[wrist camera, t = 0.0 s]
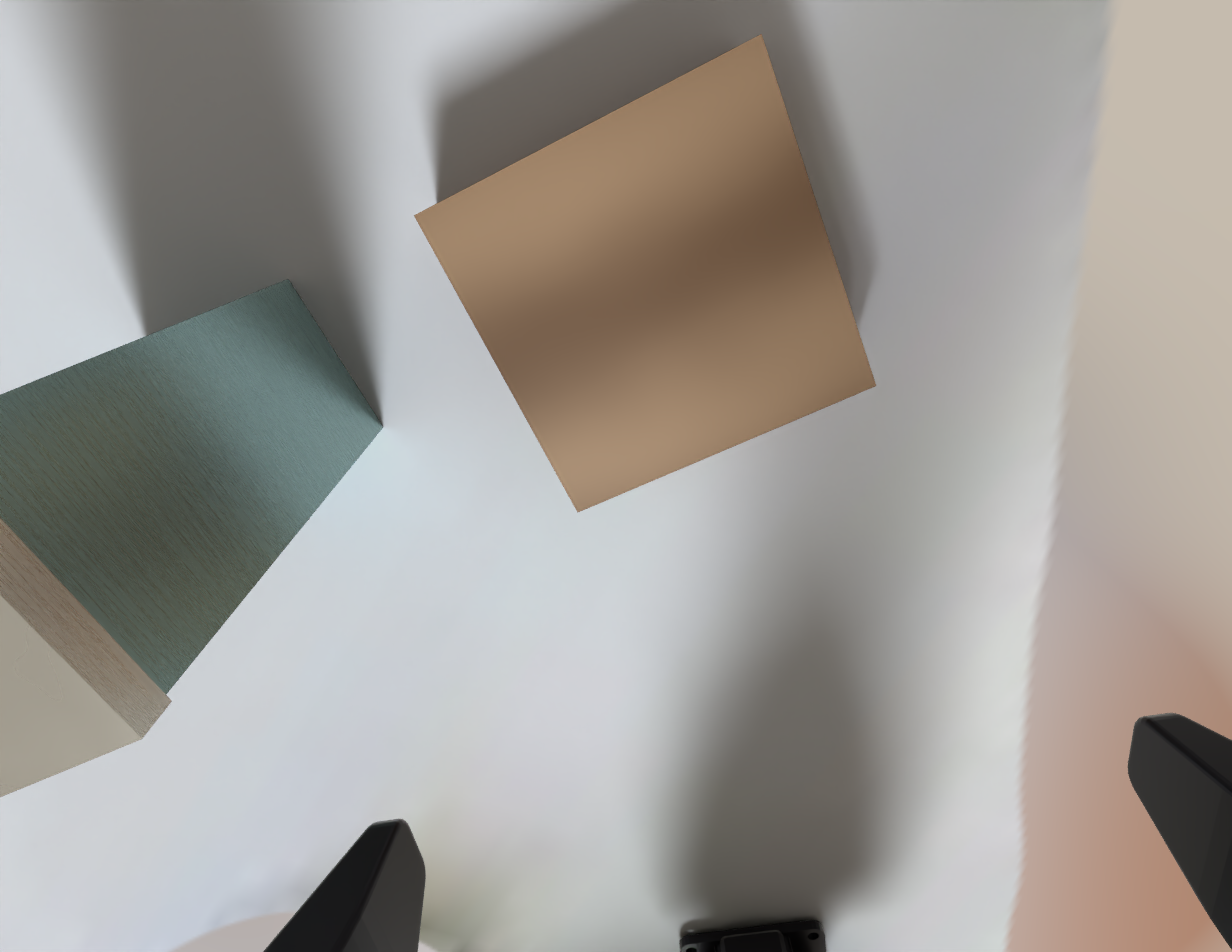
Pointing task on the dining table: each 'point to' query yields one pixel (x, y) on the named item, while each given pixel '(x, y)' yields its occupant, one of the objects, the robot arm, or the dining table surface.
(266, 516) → the tea tin
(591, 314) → the walnut block
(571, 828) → the dining table surface
